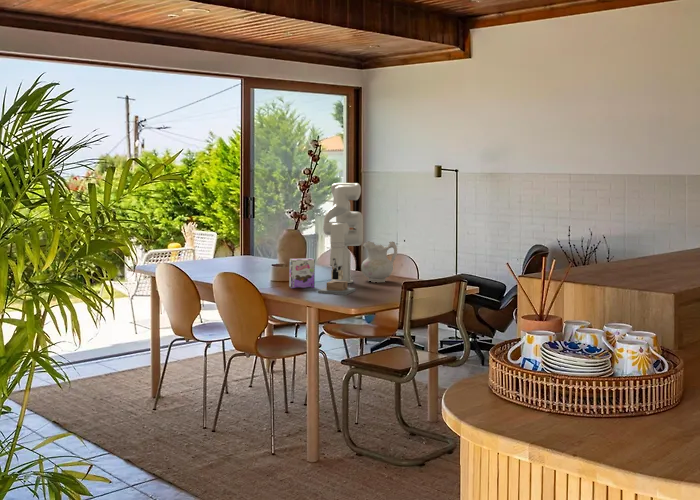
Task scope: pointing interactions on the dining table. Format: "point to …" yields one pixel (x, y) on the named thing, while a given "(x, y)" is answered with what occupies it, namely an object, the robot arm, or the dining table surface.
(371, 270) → the ceramic pitcher
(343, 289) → the grey brown stepped pedestal
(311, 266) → the candy box
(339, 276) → the maple cube
